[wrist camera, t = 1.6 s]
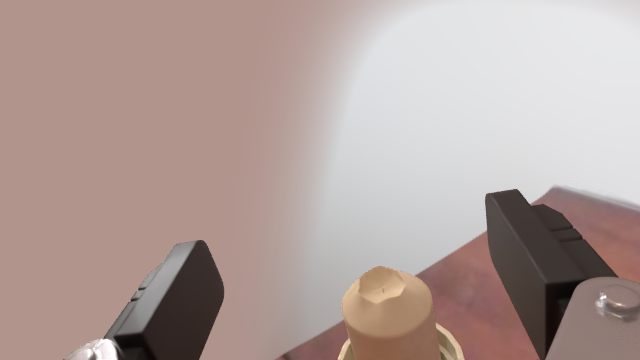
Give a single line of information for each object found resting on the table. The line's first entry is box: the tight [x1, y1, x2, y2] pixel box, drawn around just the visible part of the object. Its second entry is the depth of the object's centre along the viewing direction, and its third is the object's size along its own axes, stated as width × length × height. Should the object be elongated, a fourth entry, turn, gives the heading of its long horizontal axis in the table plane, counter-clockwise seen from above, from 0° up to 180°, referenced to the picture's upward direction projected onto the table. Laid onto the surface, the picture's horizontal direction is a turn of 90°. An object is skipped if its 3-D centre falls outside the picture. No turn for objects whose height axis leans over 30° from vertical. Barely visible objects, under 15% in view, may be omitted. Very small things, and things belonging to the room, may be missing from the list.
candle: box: [342, 266, 441, 360], centre depth 26 cm, size 6×6×10 cm
